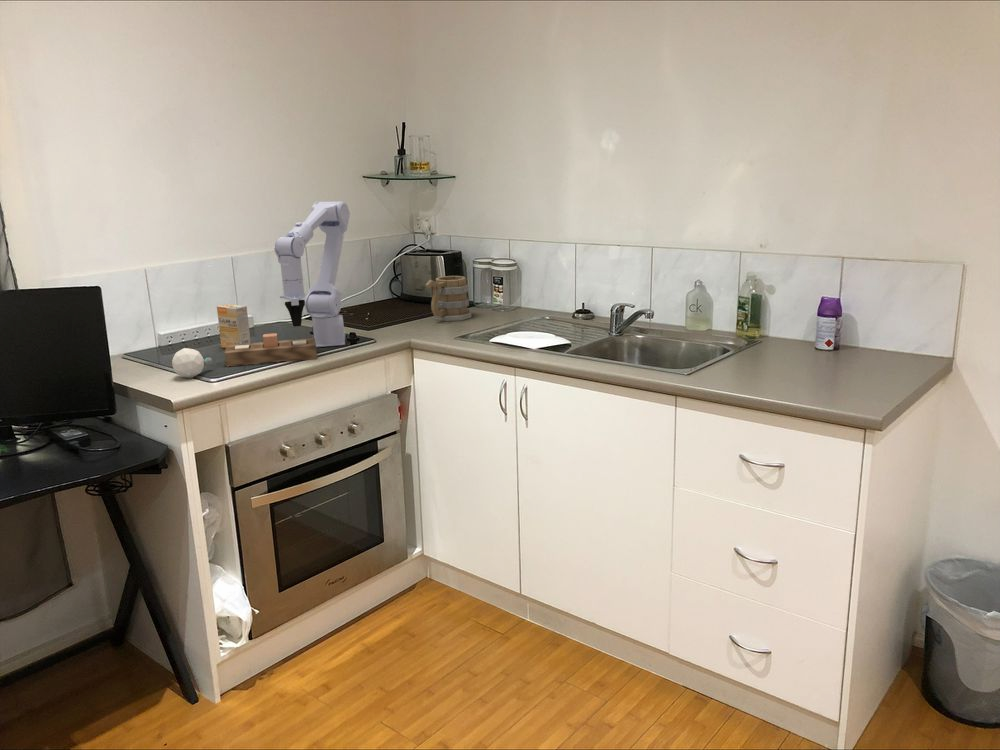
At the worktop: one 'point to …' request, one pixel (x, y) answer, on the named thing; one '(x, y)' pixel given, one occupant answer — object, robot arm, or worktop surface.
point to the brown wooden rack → (270, 352)
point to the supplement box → (233, 324)
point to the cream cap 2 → (299, 342)
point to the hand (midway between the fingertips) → (297, 325)
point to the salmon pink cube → (270, 340)
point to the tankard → (449, 298)
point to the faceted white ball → (189, 362)
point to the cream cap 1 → (242, 347)
